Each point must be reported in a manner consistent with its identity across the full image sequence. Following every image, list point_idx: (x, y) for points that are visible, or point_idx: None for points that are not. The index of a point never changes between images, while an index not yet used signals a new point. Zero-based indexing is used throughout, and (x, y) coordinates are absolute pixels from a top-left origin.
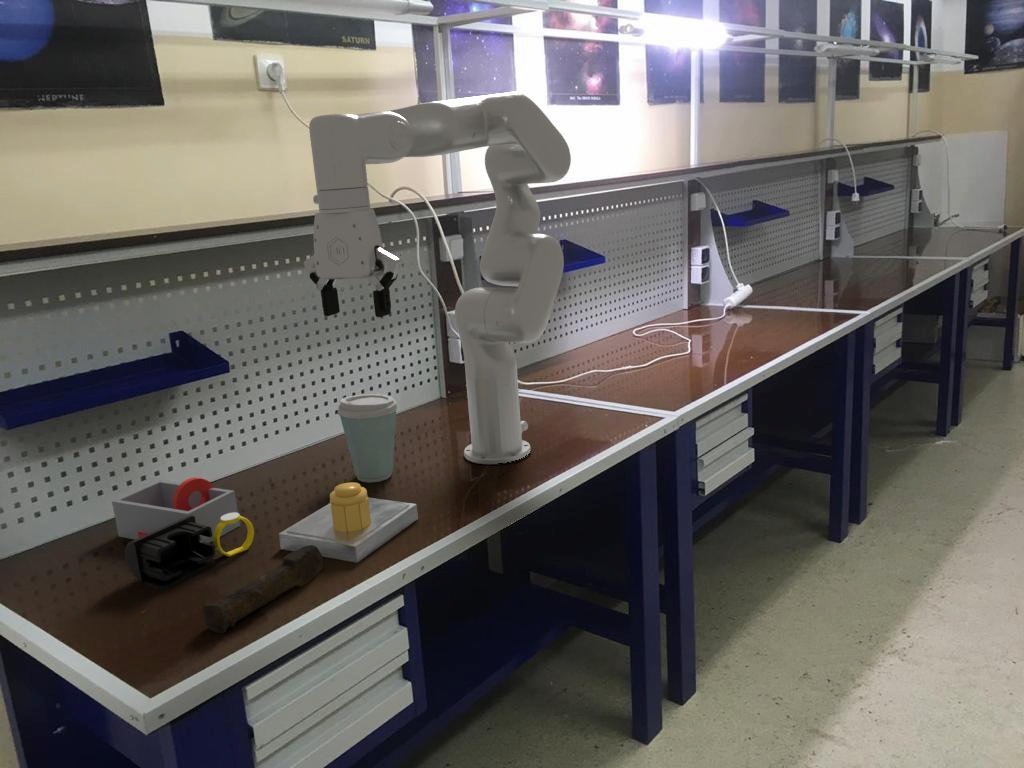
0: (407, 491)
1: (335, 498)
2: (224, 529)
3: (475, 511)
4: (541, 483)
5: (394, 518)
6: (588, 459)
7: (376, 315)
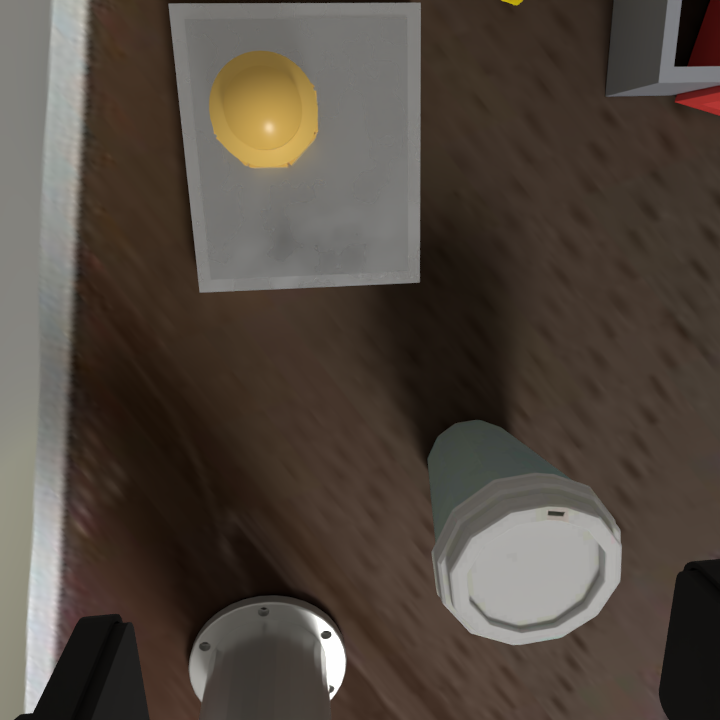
0: (335, 410)
1: (270, 57)
2: (616, 37)
3: (104, 369)
4: (63, 552)
5: (192, 194)
6: None
7: (108, 619)
